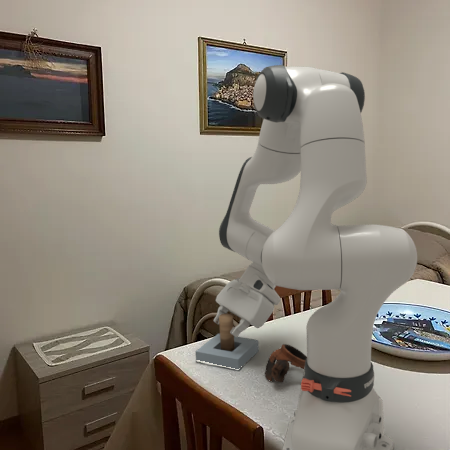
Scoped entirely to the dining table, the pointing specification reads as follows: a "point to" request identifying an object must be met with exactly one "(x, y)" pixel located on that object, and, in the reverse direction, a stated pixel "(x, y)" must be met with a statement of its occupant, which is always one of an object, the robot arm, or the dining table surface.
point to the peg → (226, 332)
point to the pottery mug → (283, 362)
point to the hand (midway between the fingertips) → (224, 329)
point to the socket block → (228, 352)
